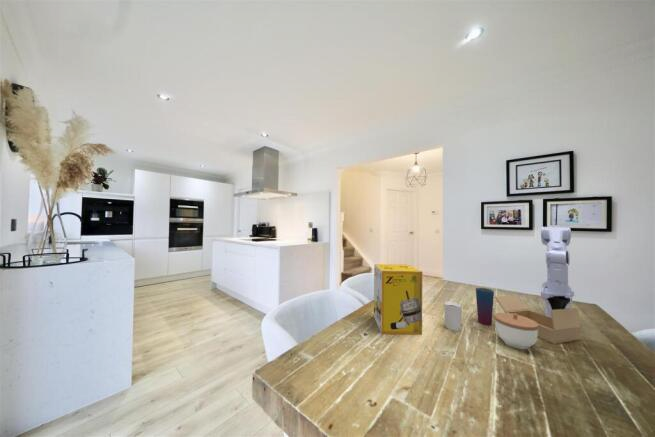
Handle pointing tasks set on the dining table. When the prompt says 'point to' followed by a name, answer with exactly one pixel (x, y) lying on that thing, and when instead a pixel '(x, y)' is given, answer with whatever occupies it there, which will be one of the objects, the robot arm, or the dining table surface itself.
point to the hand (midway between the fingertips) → (557, 315)
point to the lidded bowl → (516, 330)
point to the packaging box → (398, 299)
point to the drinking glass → (453, 315)
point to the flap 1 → (510, 303)
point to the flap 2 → (565, 318)
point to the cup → (484, 305)
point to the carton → (550, 328)
